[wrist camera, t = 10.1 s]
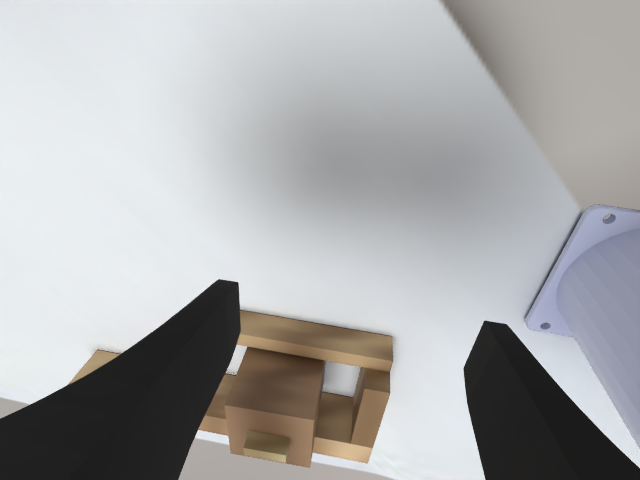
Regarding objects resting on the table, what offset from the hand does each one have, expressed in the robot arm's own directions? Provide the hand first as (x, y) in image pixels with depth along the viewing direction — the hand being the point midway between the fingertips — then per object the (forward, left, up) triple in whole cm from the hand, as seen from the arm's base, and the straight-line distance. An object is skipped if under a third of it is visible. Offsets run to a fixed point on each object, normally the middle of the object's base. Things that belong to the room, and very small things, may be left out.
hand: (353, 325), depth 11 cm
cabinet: (+3, +13, -10) cm, 17 cm away
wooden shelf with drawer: (+8, +14, -9) cm, 19 cm away
